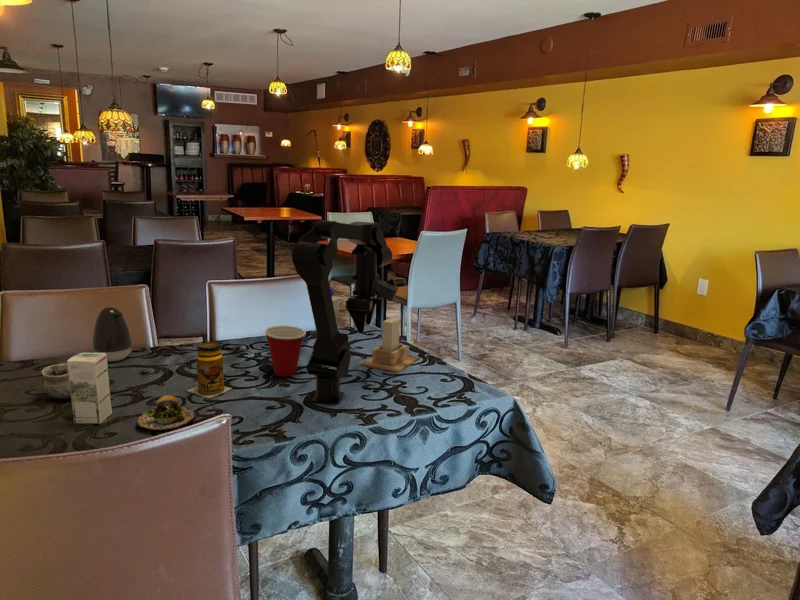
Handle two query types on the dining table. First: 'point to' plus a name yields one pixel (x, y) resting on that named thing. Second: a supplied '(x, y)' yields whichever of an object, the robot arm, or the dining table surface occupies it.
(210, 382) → the condiment
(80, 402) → the syrup box
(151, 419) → the burger
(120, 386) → the dining table surface
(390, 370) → the wooden socket base
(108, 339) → the dark grey egg shape
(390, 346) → the tan rectangular block
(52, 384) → the mug
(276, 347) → the plastic cup
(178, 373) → the dining table surface
